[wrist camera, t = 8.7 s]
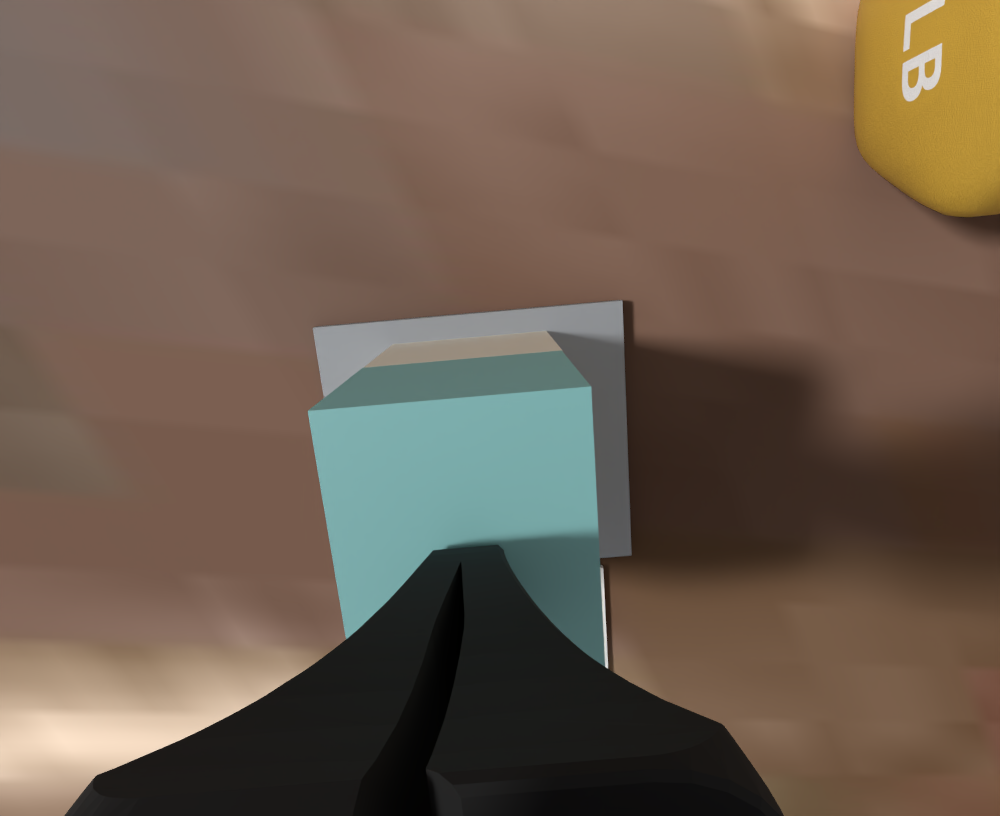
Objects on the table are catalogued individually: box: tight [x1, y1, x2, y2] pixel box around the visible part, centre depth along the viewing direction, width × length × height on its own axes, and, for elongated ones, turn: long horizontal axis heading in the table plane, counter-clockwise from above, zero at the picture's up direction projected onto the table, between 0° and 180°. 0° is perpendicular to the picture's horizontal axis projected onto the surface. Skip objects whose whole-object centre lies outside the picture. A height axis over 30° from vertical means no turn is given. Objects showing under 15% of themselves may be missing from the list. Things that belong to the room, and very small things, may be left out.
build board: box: [313, 300, 632, 558], centre depth 20 cm, size 9×10×1 cm
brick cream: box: [363, 331, 562, 368], centre depth 18 cm, size 8×5×4 cm, turn 5°
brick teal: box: [308, 350, 605, 666], centre depth 13 cm, size 8×5×4 cm, turn 5°
